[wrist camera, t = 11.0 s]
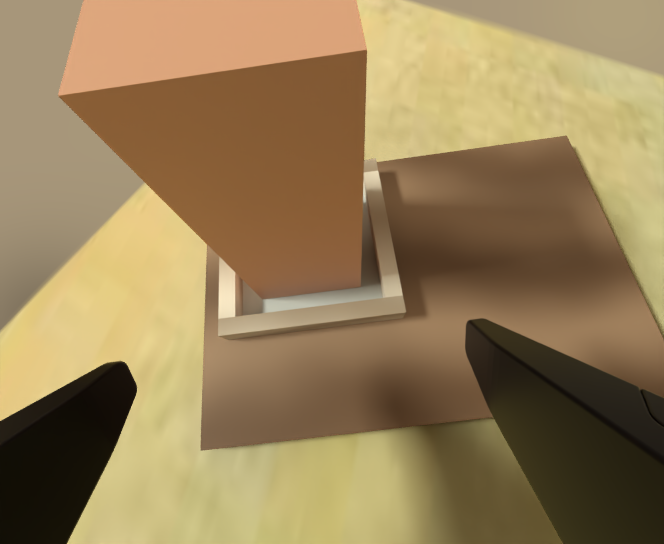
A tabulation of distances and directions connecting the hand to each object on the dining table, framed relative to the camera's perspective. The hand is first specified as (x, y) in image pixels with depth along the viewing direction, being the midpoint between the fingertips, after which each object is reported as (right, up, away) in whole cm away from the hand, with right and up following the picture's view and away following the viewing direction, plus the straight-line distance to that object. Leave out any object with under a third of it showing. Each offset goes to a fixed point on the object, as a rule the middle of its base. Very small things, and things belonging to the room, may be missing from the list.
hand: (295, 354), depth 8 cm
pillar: (0, +3, +9) cm, 9 cm away
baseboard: (+5, +2, +9) cm, 10 cm away
